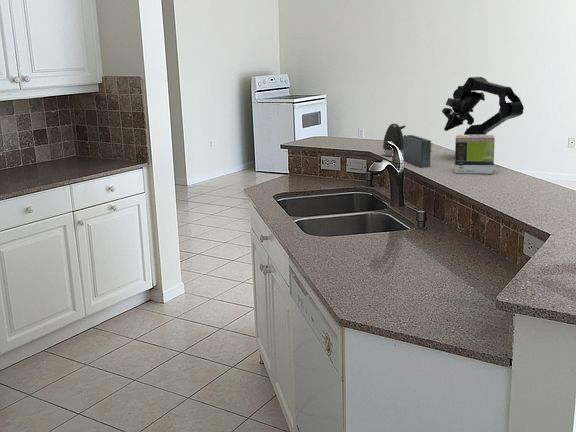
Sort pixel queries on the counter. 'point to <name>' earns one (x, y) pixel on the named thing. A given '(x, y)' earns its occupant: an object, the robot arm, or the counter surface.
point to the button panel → (417, 150)
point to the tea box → (474, 154)
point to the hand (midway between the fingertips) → (445, 130)
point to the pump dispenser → (393, 138)
